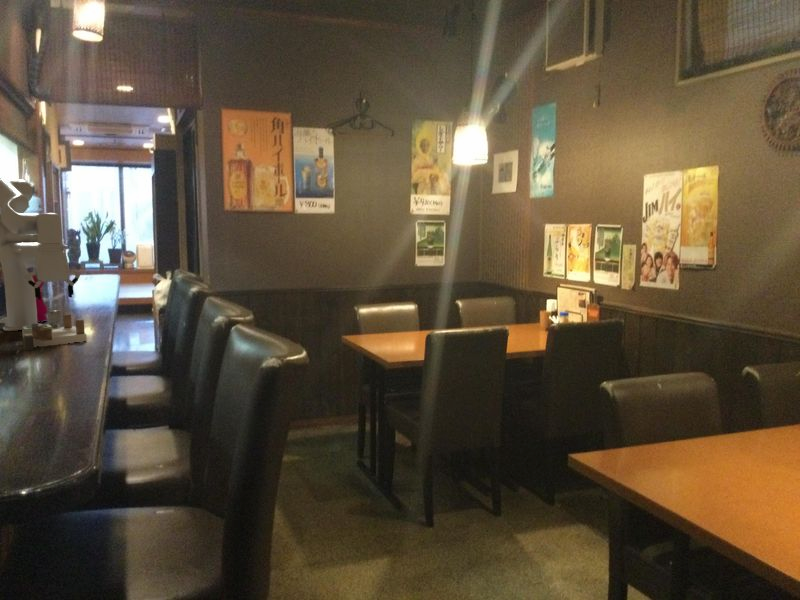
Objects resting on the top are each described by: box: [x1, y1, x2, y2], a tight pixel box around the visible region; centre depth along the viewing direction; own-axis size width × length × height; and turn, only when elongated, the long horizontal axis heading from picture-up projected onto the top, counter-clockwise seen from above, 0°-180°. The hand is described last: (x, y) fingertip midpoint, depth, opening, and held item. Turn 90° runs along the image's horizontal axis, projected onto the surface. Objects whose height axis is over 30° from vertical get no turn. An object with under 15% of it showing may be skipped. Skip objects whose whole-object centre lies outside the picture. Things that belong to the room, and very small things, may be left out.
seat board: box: [21, 314, 87, 352], centre depth 208 cm, size 28×18×7 cm, turn 36°
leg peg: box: [47, 309, 63, 328], centre depth 224 cm, size 4×4×8 cm
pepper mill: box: [32, 274, 48, 321], centre depth 253 cm, size 7×7×20 cm
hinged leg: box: [32, 327, 52, 341], centre depth 197 cm, size 2×10×4 cm, turn 46°
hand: (54, 298), depth 223 cm, fingers open, 9 cm apart
